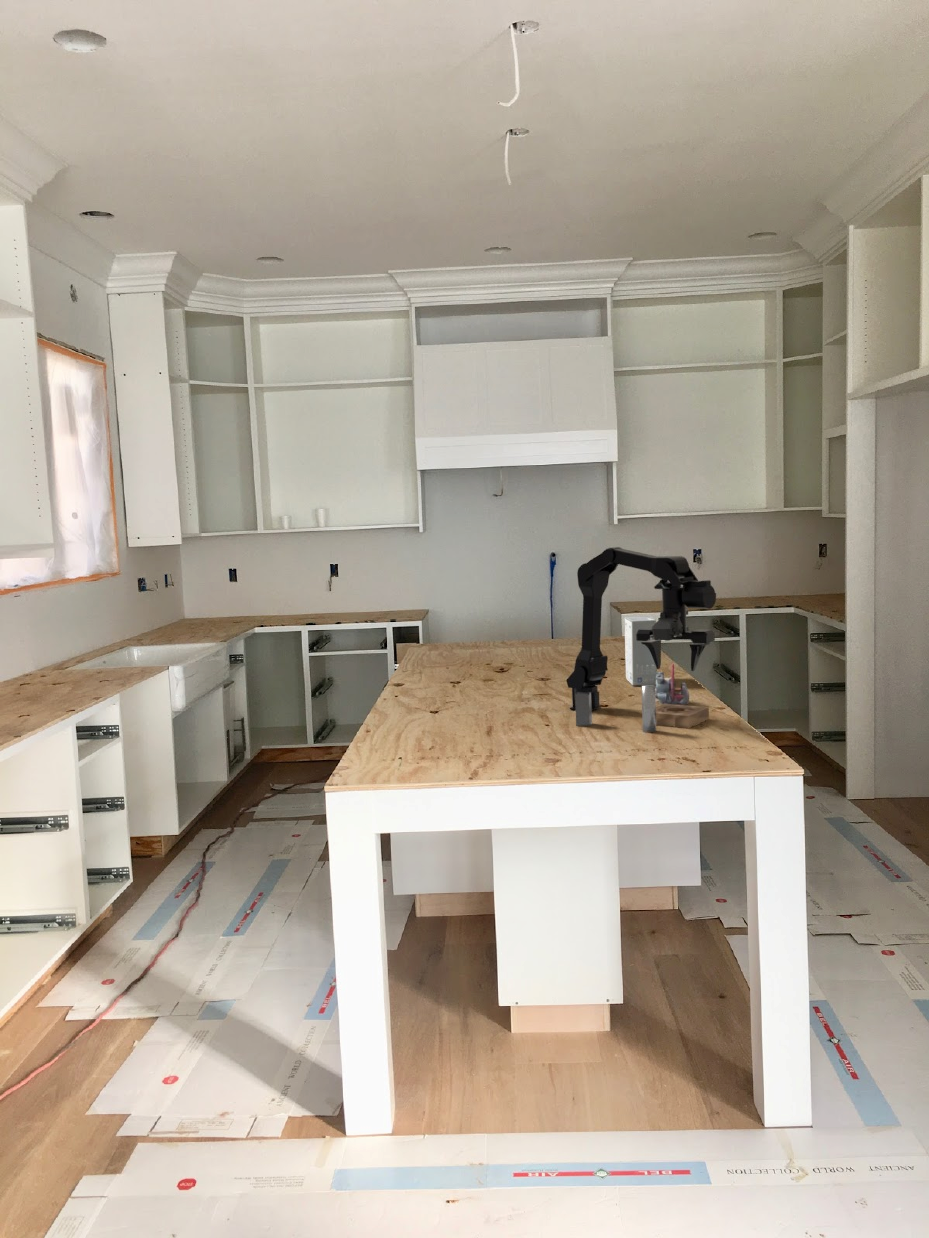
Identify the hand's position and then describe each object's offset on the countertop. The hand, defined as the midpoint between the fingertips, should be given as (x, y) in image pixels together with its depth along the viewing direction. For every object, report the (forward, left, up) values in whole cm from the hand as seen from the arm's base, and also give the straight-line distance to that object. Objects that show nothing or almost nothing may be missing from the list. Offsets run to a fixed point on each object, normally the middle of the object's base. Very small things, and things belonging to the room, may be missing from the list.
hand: (675, 669), depth 247 cm
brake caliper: (-11, +21, -13) cm, 27 cm away
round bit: (-1, -13, -13) cm, 19 cm away
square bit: (-19, -13, -13) cm, 27 cm away
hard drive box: (-35, +50, -13) cm, 62 cm away
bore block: (0, 0, -13) cm, 13 cm away
